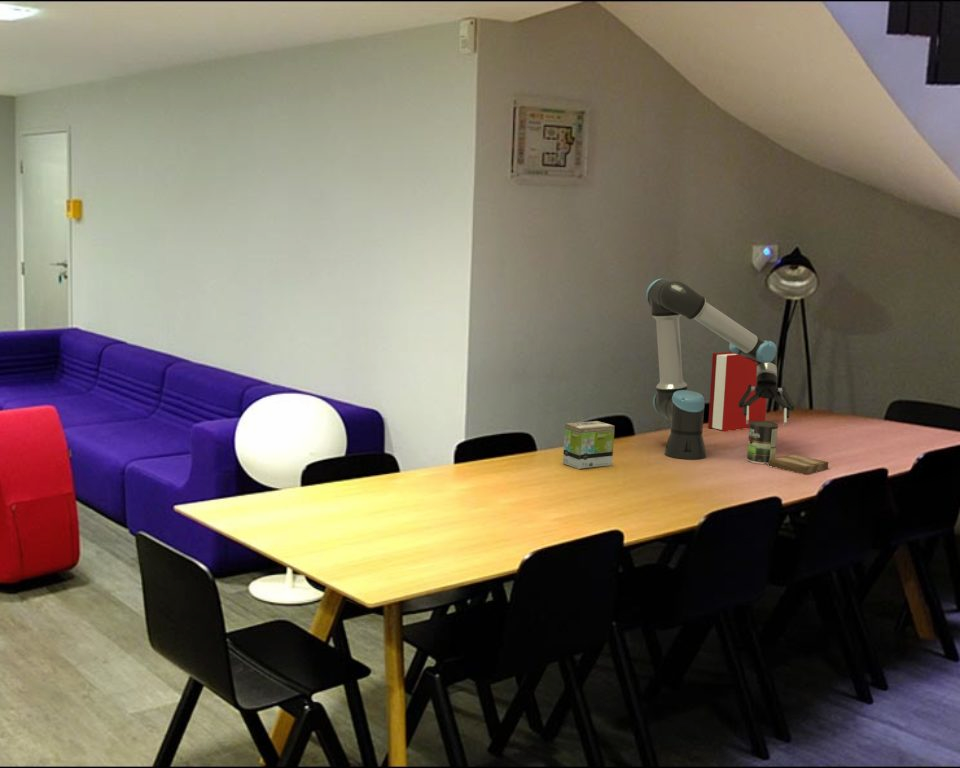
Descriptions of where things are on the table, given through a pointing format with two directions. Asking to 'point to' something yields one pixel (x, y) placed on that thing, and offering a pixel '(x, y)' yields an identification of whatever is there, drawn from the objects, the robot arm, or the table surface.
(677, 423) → the robot arm
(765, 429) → the coffee can
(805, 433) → the table surface
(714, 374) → the book
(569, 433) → the tea box
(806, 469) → the walnut board
